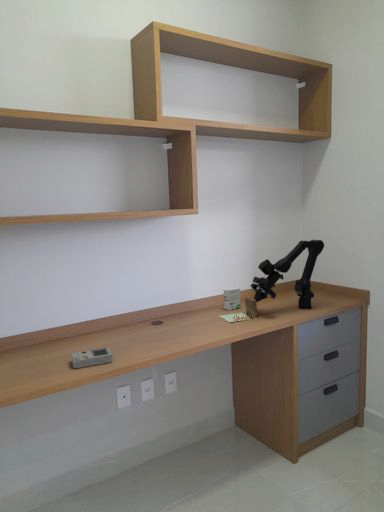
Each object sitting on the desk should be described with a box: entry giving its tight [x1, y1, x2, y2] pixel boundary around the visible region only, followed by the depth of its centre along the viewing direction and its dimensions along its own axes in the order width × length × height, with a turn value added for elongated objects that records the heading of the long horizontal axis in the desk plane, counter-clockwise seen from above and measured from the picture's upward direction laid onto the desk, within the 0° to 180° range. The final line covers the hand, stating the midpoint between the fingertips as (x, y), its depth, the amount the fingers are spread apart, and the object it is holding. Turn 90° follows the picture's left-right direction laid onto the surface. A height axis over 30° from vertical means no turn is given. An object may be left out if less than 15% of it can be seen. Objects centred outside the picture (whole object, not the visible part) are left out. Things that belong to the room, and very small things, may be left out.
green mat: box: [218, 312, 247, 323], centre depth 201 cm, size 14×14×1 cm
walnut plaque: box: [244, 296, 259, 318], centre depth 204 cm, size 2×8×9 cm, turn 20°
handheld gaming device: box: [71, 347, 113, 369], centre depth 150 cm, size 9×15×4 cm, turn 111°
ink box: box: [223, 287, 241, 311], centre depth 220 cm, size 8×5×12 cm, turn 121°
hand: (253, 302), depth 204 cm, fingers closed
